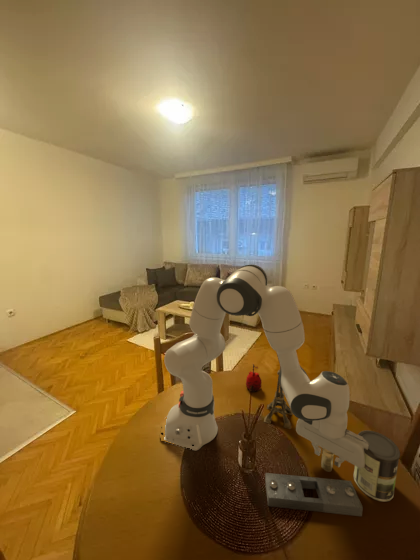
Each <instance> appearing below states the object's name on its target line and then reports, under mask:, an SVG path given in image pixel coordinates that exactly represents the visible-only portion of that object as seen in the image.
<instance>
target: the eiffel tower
mask: <svg viewBox="0 0 420 560" xmlns="http://www.w3.org/2000/svg"><path fill="white" fill-rule="evenodd" d="M276 373H277V374H276V375H277V376H278V377H277V382H276V383H277V385H276V391H274V392H275V393H274V398H273V399H272V401H271V402H270V403H269V404H267V405H266V406H267V407H266V410H270V411H269V413H268V414H266V416H264V417H263V423H267V424H270V425H271V423H272V419H273V418H272V417H273V415H274V414H275V413H278V414H280V415H282V417H283V418H282V419H283V429H288V430H292V423H291V422H290V419H288V417H287V415H290V416H293V413H292V411H291V409H290V406H289V405H288V403H287V401H285V394H284V392H283V390H282V388H281V386H280V384H279V374H280V369H278V370H277V372H276ZM277 406H278V407H277Z"/></svg>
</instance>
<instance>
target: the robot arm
mask: <svg viewBox="0 0 420 560" xmlns="http://www.w3.org/2000/svg"><path fill="white" fill-rule="evenodd" d="M226 314H227V315H231V316H237V317H239V316H240V317H241V316H247V317H252V316H255V315H256V314H258V316H259V318H260V321H261V324H262V328H263V332H264V334H265V337H266V339H267V341H268V344H269V346H270V347H271V349H273V350H274V351H275V352H276V355H277V359H278V363H279V370H280V374H279V375H278V376H279V384H280V386H281V388H282V390H283V393H284V398H286V402H287V405H288V407H289V408H290V409H291V411H292V415H294V417H296V418H297V421H296V425H295V431H296V433H297V435H298V436H301V437H302V438H304V439H306V440H308V441H310V442H311V445H312V447H313V449H314V454H315V455H317V456H318V457H319V456H320V455H321V454H322V448H324V449H326V450H328V451H330V452H331V453H333V455H335V459H334V463H333V465H335V466H336V467H337V468H340V467H341V464H342V463H344V462H345V461H346V462H347V463H350V464H351V465H353V466H354V467H355V466H357V467H359V468H364V467H365V451H364V448H365V449H367V450H369V444H368V442H367V441H366V440H365V439H364V438H363V437H362V436H360V435H358V434H357V433H355V432H353V431H351V430H349V429H347V427H348V413H347V412H348V410H349V407H350V386H349V383H348V382H347V381H346V379H345V378H344V376H343V377H342V375H340V374H338V373H336V372H335V371H334V372H333V371H330V370H329V371H328V370H324V371H321V373H320V374H319V375H318V376H317V377H315V378H314V379H312V380H310V377H309V375H308V373H307V372H306V371H305V370H304V368H303V367H302V366H301V365H300V362H299V357H298V353H297V350H298V349H300V348H301V347H302V346H303V344H304V343H305V330H304V329H305V327H304V324H303V319H302V316H301V313H300V310H299V307H298V305H297V302H296V300H295V299H294V296H293V295H292V292H291V291H290V290H289V289H288V288H286V287H285V286H283V285H282V286H281V285H274V286H269V285H268V276H267V273H266V271H265V270H264V269H263V268H262V267H261V266H258V265H256V264H246V265H243V266H241V267H239V268H238V269H237V270H235V271H233V272H232V273H231V274H230V275H229V276H228V277H226V279H223V278H219V277H208V278H206V279H205V280H203V282H202V283H201V285H200V288H199V290H198V292H197V294H196V296H195V300H194V303H193V306H192V309H191V314H190V316H189V317H190V318H189V321H188V322H189V323H188V324H189V328H190V329H191V331H192V333H193V335H192V336H190V337H189V338H186V339H184V340H182V341H179V342H176V343H175V344H174V345H172V346H171V347H170V348H168V349H167V350H166V351H165V354H164V359H163V360H164V366H165V368H166V370H167V372H168V373H169V374H171V376H174V377H177V378H179V379H180V381H181V384H182V389H183V390H181V391H180V393H179V399H178V403H177V404H174V405H173V406H172V407H171V408H170V410H169V411H168V413H167V415H166V417H167V419H166V425H165V437H164V440H166V441H168V442H171V443H174V444H176V445H175V446H177V445H179V446H178V447H180V446H182V448H184V447H186V448H185V449H187V448H190V449H189V450H191V449H192V451H195V452H196V451H200V449H201V448H202V447H203V446H204V445H206V444H208V443H210V442H211V441H213V440H214V439H215V437H216V436H217V434H218V430H219V428H218V424H217V422H216V418H215V417H216V416H215V398H214V396H215V395H214V393H213V379H212V377H211V375H210V374H209V373H208V372H206V371H204V370H203V367H204V366H205V365H207V364H208V363H211V362H212V361H214V360H216V359H217V358H218V357H219V356H220V355H221V354H222V353H223V352H224V351H225V349H226V340H225V338H224V336H223V334H222V333H221V328H222V326H223V323H224V320H225V317H226ZM280 386H279V387H280ZM192 445H194V446H192Z"/></svg>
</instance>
